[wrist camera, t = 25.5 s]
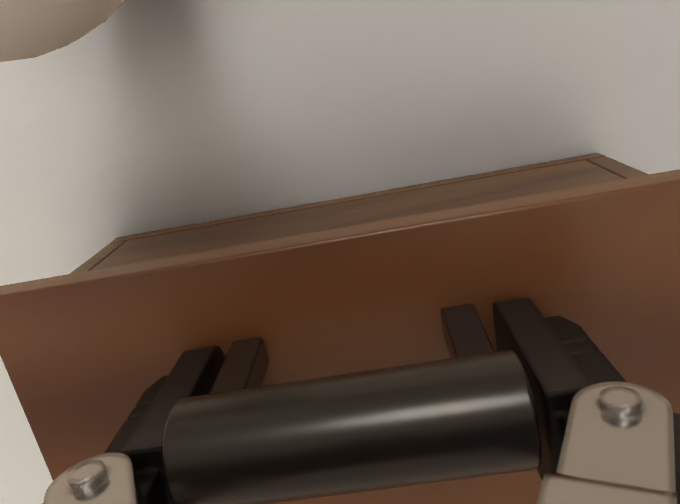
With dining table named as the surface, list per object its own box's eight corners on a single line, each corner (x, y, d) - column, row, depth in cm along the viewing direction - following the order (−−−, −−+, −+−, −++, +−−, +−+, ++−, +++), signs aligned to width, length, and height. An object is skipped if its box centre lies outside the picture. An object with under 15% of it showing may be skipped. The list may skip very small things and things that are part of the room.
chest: (116, 237, 19) (10, 317, 13) (598, 152, 18) (713, 200, 12) (241, 617, 25) (204, 791, 19) (618, 576, 23) (704, 750, 17)
